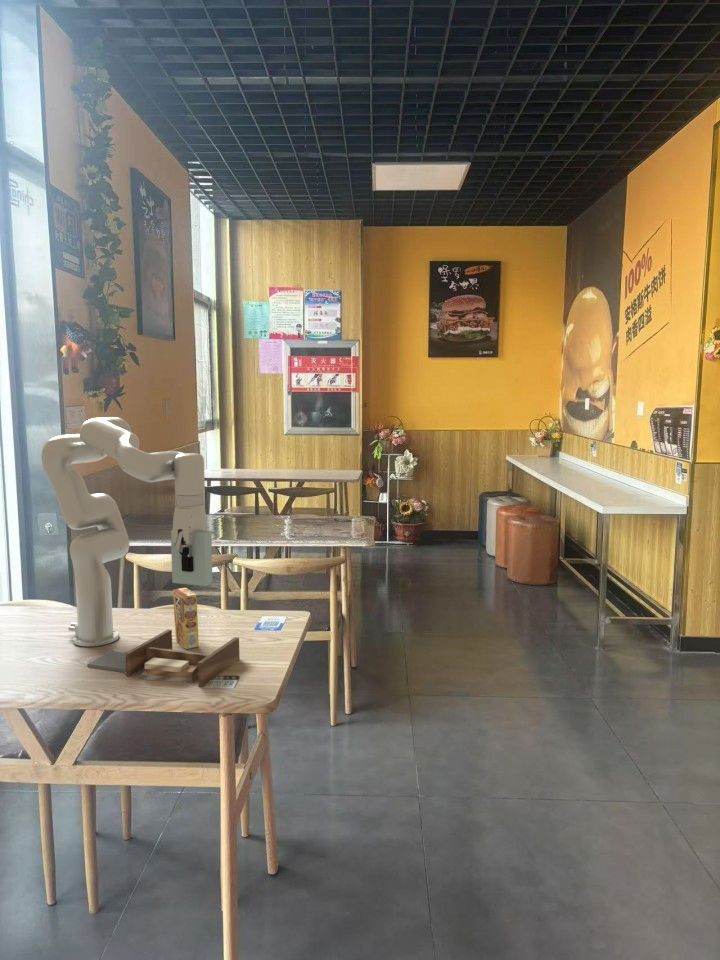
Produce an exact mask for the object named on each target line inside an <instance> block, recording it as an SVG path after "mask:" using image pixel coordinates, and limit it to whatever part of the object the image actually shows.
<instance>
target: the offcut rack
mask: <svg viewBox="0 0 720 960" xmlns="http://www.w3.org/2000/svg"><path fill="white" fill-rule="evenodd" d="M125 658H126V672H125V674H126V677H132V676H133V675H135V674H137V673H138V672H140V671H142V670H143V669H145V663H146V662H148V661H149V660H150V659H152V658H163V659H173V660H183V661H189V665H198V678H197V686H198V687H201V688H202V687H204V686H206V685H207V684H209V681H210V680H211V681H212V680H214V679H215V678H216V676H217V677H218V676H219V675H221V674H223V672H225V671H226V670H228V669H229V668H230V667H231V666H233V665H234V664H235V663H237V662H238V661H239V660H240V659H241V658H240V638H239V637H236V636H235V637H233V638H232V639H230V640H229V641H228V642H226V643H224V644H222V645H221V646H219V648H217V649H216V650H214V651H213V652H211V653H210V654H208V653H201V652H200V653H199V652H191V651H184V650H177V649H173V630H172V629H166V630H164V631H162V632H161V633H159V634H157V635H155V636H154V637H152V638H150V639H148V640H147V641H144V642H142V643H141V644H139V645H137V646H135V647H134V648H132V649H130V650H127V651H126V652H125ZM236 661H237V662H236ZM232 664H233V665H232ZM224 670H225V671H224ZM220 673H221V674H220ZM214 677H215V678H214ZM213 678H214V679H213ZM211 681H210V682H211Z"/></svg>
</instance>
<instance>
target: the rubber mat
mask: <svg viewBox="0 0 720 960" xmlns="http://www.w3.org/2000/svg"><path fill="white" fill-rule="evenodd" d="M125 653H126V652H124V651H116V650H111V651H109V652H107V653H105V654H103V655H101V656H100V657H97V658H95V659H94V660H91V661H90V662H88V663H87V664H86V665H87V667H88V668H92V667H93V668H94V669H100V670H107V671H114V672H122V673H126V658H125Z"/></svg>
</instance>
